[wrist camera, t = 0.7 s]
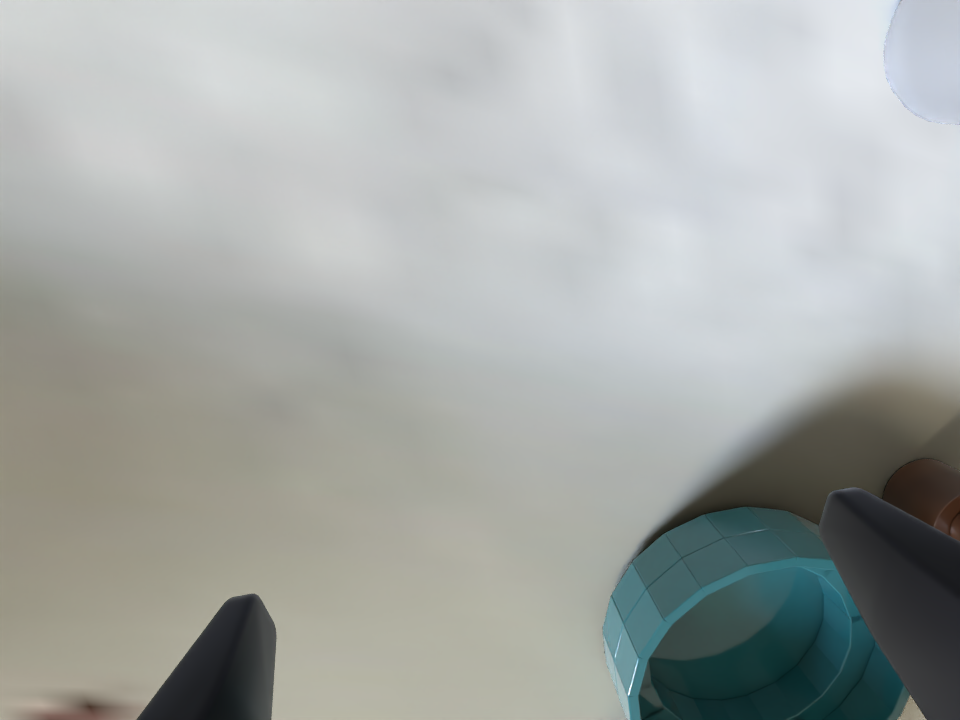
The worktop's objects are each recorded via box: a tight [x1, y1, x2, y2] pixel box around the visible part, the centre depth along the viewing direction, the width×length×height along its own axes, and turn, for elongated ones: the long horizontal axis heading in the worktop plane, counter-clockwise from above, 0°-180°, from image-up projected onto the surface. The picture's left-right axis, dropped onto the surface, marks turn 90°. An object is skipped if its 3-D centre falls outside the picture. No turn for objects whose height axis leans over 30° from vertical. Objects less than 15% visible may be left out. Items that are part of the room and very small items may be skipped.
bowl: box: [603, 506, 910, 720], centre depth 27 cm, size 13×13×4 cm
